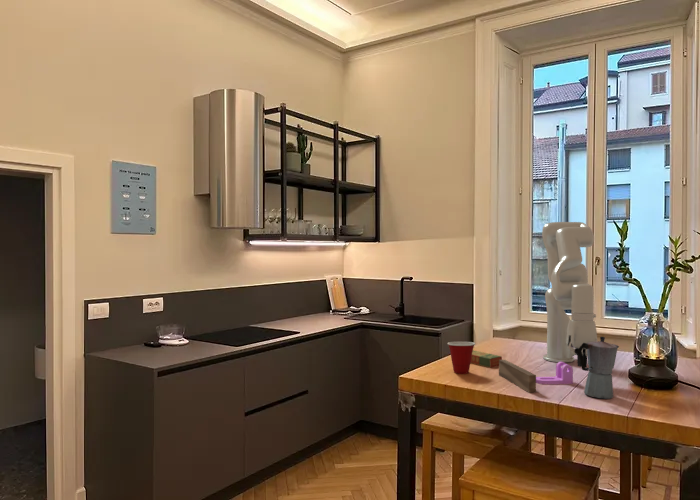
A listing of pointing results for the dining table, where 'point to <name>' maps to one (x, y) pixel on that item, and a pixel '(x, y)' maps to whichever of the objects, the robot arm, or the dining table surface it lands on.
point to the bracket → (558, 375)
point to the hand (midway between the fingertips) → (582, 366)
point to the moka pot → (599, 368)
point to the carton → (485, 359)
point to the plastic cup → (461, 356)
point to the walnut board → (517, 376)
